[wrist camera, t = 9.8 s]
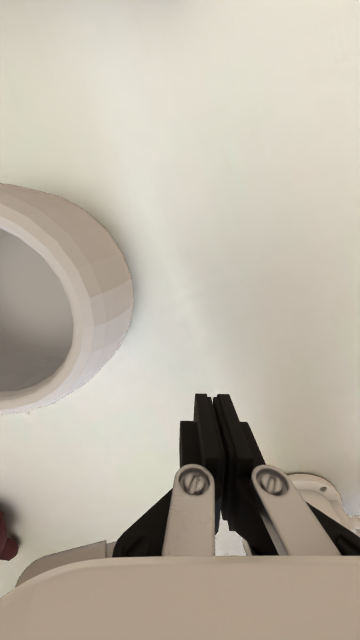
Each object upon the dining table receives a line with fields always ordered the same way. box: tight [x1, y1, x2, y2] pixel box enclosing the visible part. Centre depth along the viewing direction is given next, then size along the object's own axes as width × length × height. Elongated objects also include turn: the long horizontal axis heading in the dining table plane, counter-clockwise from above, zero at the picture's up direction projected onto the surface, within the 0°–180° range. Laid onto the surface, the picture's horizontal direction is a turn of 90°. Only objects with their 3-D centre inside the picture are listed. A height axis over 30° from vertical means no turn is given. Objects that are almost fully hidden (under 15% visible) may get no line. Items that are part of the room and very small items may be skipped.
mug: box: [0, 183, 134, 414], centre depth 20 cm, size 21×17×10 cm
